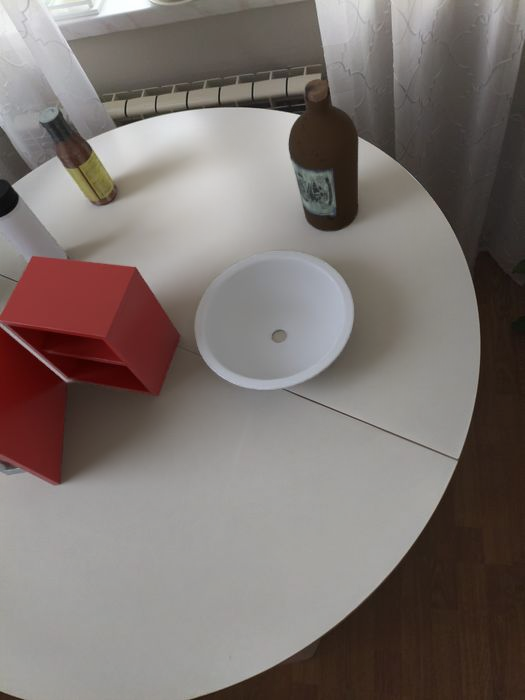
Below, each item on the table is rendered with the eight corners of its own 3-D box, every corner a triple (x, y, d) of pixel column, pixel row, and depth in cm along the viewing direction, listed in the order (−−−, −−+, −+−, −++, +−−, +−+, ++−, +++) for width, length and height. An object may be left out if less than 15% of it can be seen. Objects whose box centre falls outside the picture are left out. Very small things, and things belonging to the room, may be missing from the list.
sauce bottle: (117, 180, 112) (69, 95, 95) (118, 202, 109) (68, 119, 92) (87, 189, 113) (33, 106, 96) (87, 211, 110) (32, 129, 93)
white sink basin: (252, 257, 96) (244, 232, 90) (382, 302, 87) (381, 277, 81) (178, 370, 88) (163, 351, 82) (311, 433, 79) (306, 416, 73)
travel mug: (42, 286, 102) (-27, 211, 85) (35, 261, 106) (-32, 185, 89) (73, 271, 103) (10, 194, 86) (65, 247, 106) (3, 168, 89)
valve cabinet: (158, 396, 87) (105, 336, 70) (66, 379, 91) (-3, 320, 75) (181, 336, 91) (136, 266, 75) (92, 323, 96) (32, 255, 80)
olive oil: (319, 182, 101) (301, 55, 80) (372, 197, 97) (368, 68, 76) (290, 224, 98) (263, 103, 76) (344, 242, 94) (332, 120, 72)
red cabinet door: (20, 491, 83) (-68, 452, 67) (31, 390, 92) (-45, 334, 76) (60, 484, 83) (-20, 443, 66) (67, 382, 91) (-2, 324, 75)
